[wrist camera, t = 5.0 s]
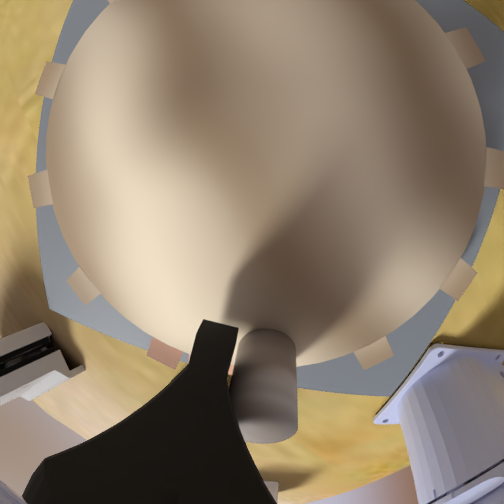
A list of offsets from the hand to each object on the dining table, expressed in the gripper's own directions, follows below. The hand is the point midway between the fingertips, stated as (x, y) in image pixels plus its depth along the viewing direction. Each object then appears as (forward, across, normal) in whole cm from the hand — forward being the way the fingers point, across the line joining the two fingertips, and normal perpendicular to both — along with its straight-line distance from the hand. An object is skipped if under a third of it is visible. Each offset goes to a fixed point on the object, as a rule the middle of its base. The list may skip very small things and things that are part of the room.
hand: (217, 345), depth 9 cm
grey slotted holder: (+5, +18, +15) cm, 24 cm away
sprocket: (+3, 0, -6) cm, 7 cm away
